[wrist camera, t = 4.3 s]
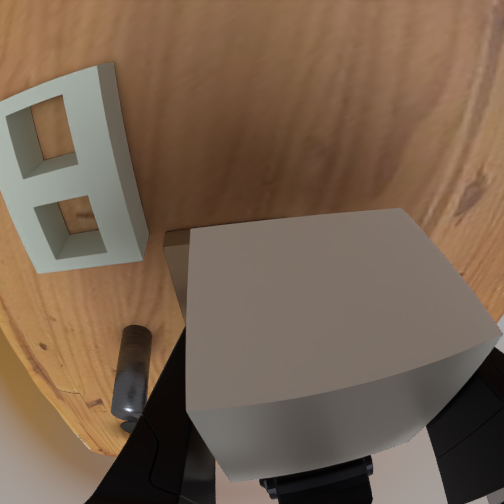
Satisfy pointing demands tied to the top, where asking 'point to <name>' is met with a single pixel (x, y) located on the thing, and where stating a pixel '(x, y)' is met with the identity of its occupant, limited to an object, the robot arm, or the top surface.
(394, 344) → the white rectangular block
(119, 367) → the peg
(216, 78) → the top surface
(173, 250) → the board
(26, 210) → the board
